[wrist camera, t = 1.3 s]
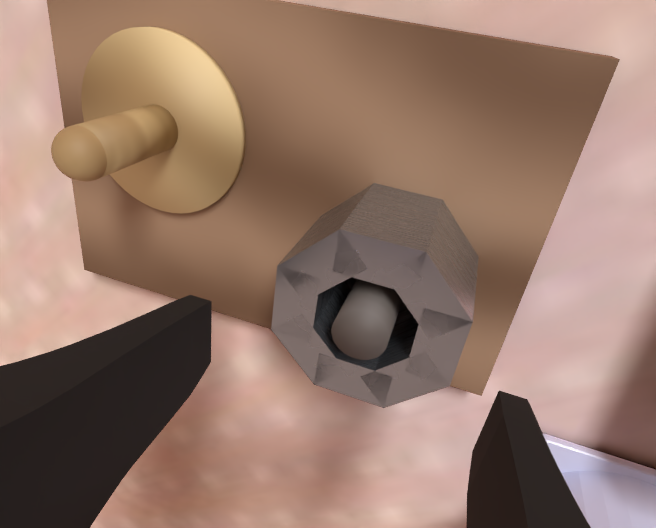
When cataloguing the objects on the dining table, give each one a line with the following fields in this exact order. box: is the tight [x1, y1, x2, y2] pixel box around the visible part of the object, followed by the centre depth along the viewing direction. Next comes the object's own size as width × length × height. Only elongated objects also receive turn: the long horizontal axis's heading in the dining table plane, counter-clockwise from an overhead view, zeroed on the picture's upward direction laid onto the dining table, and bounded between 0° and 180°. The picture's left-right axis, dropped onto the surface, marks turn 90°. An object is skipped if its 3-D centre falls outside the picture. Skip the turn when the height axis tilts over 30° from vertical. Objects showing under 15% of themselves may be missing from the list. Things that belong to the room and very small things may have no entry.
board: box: [47, 0, 620, 396], centre depth 15 cm, size 12×18×6 cm, turn 82°
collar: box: [271, 183, 479, 408], centre depth 15 cm, size 6×6×4 cm
